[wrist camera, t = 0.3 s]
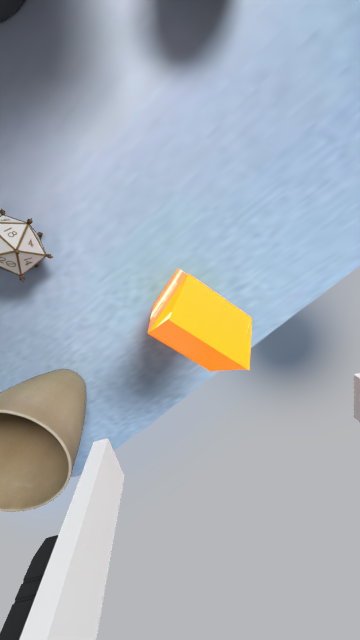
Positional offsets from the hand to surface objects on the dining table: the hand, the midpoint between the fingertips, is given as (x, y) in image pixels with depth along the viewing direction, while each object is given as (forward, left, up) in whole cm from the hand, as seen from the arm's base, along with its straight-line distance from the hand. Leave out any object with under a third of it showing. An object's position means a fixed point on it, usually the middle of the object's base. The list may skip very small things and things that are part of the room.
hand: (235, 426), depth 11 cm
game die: (-16, -20, -28) cm, 38 cm away
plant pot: (+8, -25, -28) cm, 38 cm away
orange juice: (-1, +1, -28) cm, 28 cm away
